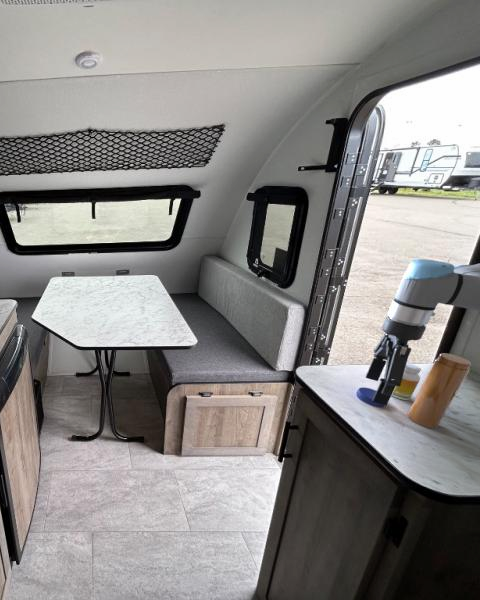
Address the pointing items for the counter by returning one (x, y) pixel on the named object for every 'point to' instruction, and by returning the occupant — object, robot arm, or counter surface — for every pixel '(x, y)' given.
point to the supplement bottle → (407, 382)
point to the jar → (439, 390)
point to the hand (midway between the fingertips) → (375, 390)
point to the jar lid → (368, 396)
